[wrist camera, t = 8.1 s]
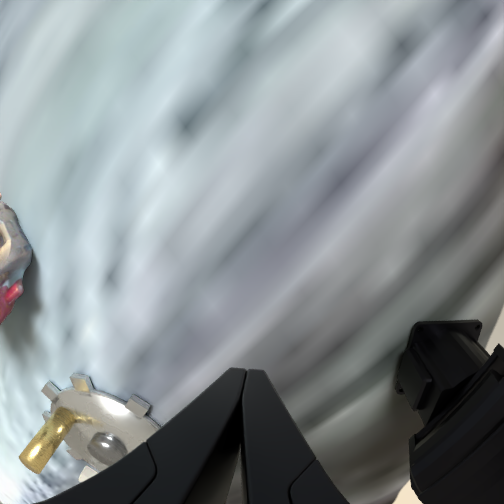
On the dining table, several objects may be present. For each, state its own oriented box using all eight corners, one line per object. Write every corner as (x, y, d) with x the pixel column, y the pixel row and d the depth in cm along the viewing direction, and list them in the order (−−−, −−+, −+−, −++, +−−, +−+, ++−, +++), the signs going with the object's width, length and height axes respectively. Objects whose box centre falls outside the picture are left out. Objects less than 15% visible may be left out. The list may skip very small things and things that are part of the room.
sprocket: (45, 341, 24) (-12, 393, 15) (221, 432, 24) (202, 513, 16) (46, 439, 29) (15, 482, 20) (171, 503, 29) (154, 555, 21)
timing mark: (85, 465, 29) (80, 474, 28) (105, 477, 30) (100, 487, 28) (82, 472, 30) (77, 481, 28) (101, 483, 30) (96, 493, 29)
